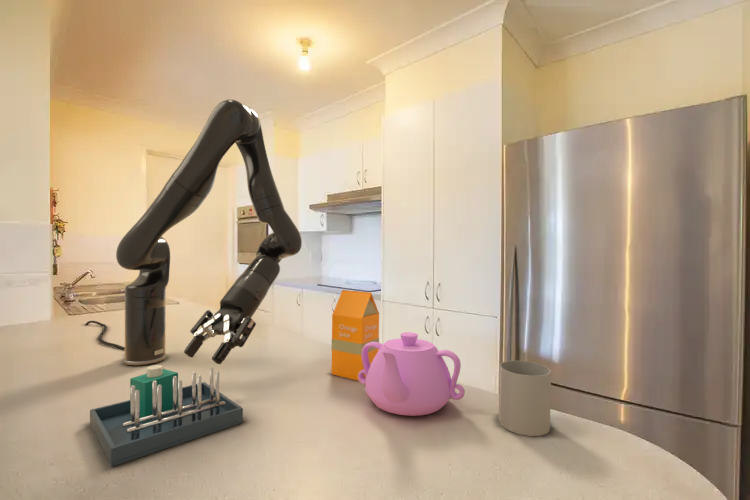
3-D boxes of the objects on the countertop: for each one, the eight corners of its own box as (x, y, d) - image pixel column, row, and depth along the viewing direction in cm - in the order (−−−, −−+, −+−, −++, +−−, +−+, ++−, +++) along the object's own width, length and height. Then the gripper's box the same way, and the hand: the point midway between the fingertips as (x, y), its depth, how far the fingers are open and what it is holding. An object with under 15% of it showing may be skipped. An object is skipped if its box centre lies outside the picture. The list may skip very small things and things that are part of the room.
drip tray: (89, 424, 65) (89, 409, 65) (204, 394, 79) (204, 381, 79) (111, 467, 53) (111, 448, 53) (242, 422, 67) (242, 407, 66)
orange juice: (361, 381, 87) (362, 294, 87) (330, 374, 92) (331, 291, 91) (379, 372, 94) (380, 290, 93) (349, 365, 98) (350, 288, 98)
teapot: (327, 420, 68) (327, 343, 67) (373, 380, 88) (374, 320, 88) (451, 446, 59) (452, 358, 59) (470, 395, 79) (471, 329, 79)
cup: (547, 418, 70) (548, 363, 70) (552, 439, 62) (553, 378, 62) (499, 410, 72) (499, 358, 72) (498, 430, 65) (499, 372, 64)
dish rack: (122, 442, 58) (122, 386, 58) (218, 413, 68) (218, 365, 68) (127, 451, 56) (127, 392, 56) (225, 419, 66) (226, 370, 66)
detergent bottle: (130, 418, 66) (130, 369, 66) (163, 405, 72) (163, 360, 72) (144, 424, 64) (144, 374, 64) (178, 410, 70) (178, 364, 69)
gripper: (215, 282, 87) (166, 343, 77) (260, 286, 80) (213, 354, 71) (233, 302, 92) (190, 362, 82) (277, 308, 85) (236, 374, 75)
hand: (201, 358), depth 76 cm, fingers open, 8 cm apart
